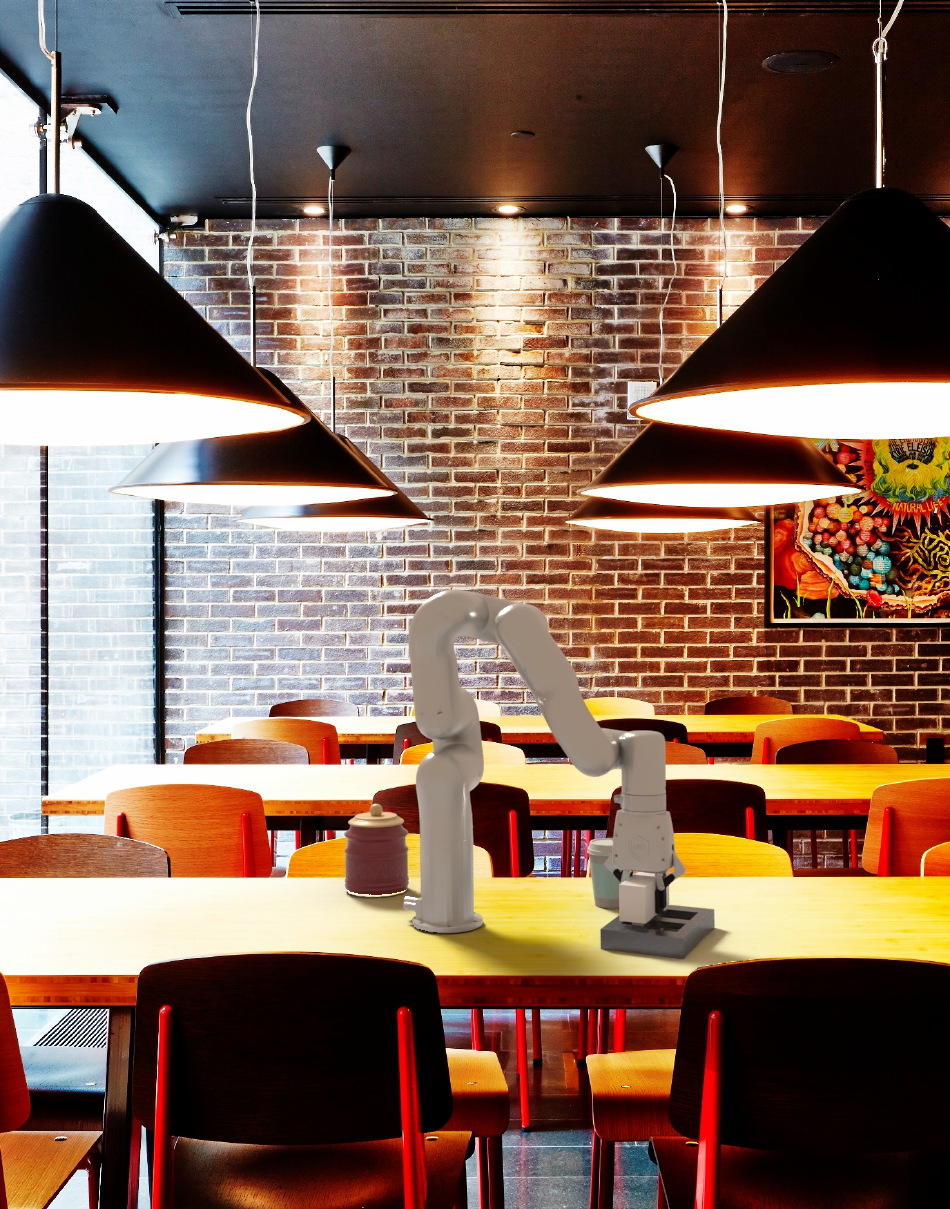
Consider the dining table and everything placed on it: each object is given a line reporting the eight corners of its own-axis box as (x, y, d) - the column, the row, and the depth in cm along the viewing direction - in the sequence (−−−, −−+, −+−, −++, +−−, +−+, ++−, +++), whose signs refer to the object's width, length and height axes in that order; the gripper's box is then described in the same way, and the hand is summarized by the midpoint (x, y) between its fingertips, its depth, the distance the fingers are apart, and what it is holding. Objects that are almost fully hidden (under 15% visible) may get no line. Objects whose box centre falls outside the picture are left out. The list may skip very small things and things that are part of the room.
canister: (414, 884, 230) (413, 799, 231) (401, 899, 217) (400, 809, 218) (353, 883, 232) (353, 798, 233) (337, 898, 219) (336, 808, 220)
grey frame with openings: (600, 948, 183) (600, 929, 183) (637, 919, 201) (637, 901, 201) (683, 958, 177) (683, 938, 177) (714, 927, 195) (714, 909, 195)
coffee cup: (631, 911, 206) (630, 846, 207) (585, 909, 208) (584, 845, 208) (634, 900, 215) (633, 838, 215) (590, 898, 216) (589, 836, 217)
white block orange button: (619, 942, 184) (618, 880, 185) (644, 922, 197) (644, 864, 197) (645, 945, 182) (644, 883, 183) (669, 924, 195) (668, 866, 195)
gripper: (589, 803, 190) (590, 910, 190) (686, 810, 183) (687, 921, 183) (604, 797, 197) (605, 900, 197) (697, 803, 190) (699, 910, 189)
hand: (644, 909), depth 190 cm, fingers closed on white block orange button, 4 cm apart
